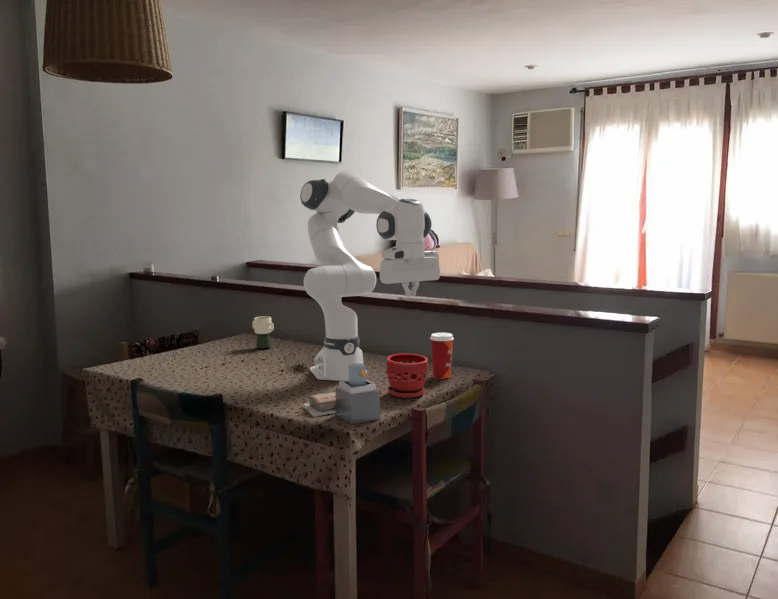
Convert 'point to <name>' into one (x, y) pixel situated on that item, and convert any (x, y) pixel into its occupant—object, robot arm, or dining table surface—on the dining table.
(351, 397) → the grey hollow box
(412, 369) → the plant pot
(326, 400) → the packaged product
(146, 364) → the dining table surface
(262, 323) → the character mug
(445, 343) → the coffee cup
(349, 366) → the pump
